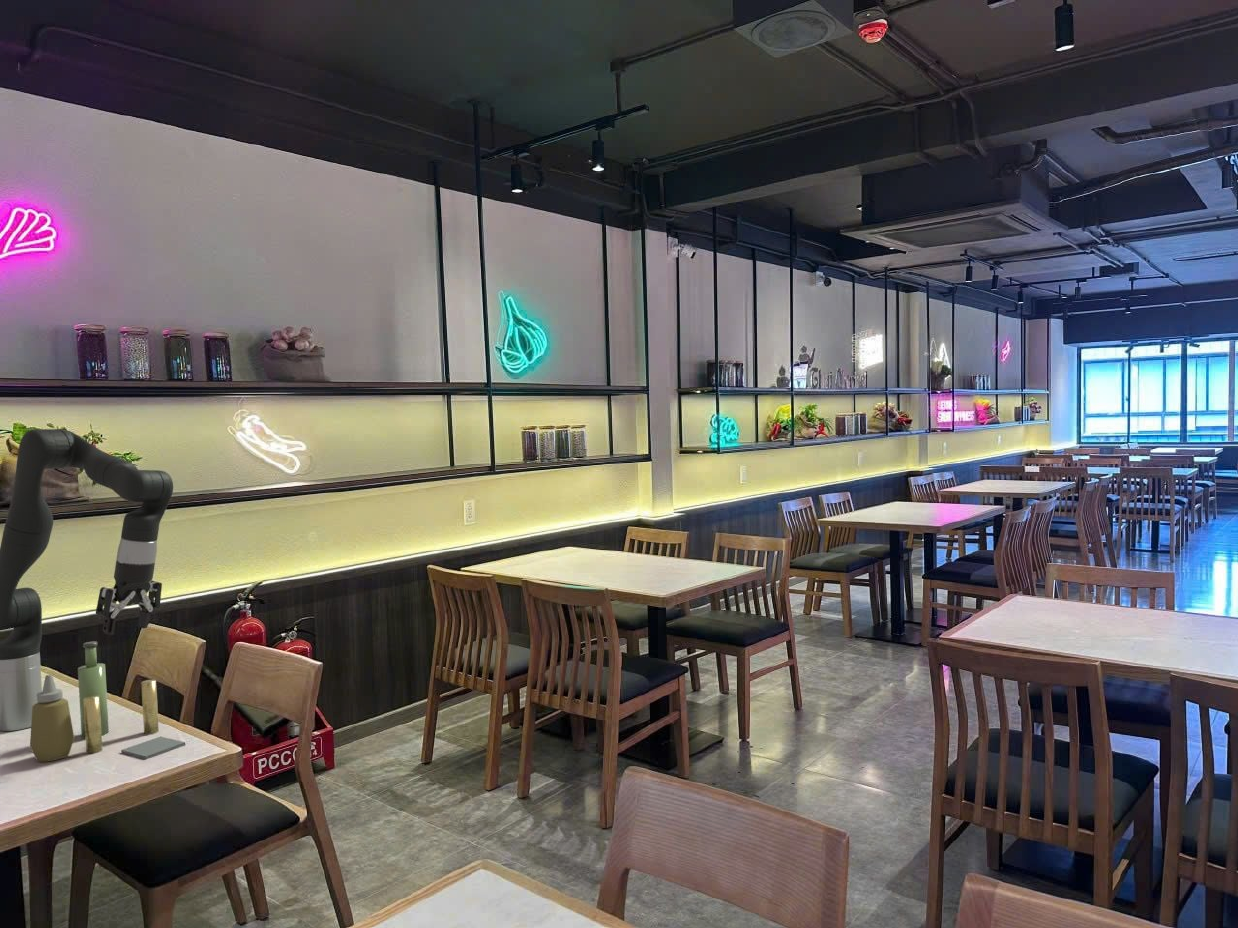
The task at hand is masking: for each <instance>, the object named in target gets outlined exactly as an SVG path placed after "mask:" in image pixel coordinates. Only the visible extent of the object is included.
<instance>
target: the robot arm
mask: <svg viewBox="0 0 1238 928" xmlns="http://www.w3.org/2000/svg"><path fill="white" fill-rule="evenodd" d="M17 450H18V451H17V457H16V458H17V459H16V468H15V474H14V475H15V476H14V485H13V491H12V495H11V499H10V504H9V509H8V512H7V516H6V519H5V524H4V528H3V531H2V537H1V541H0V631H6V630H10V629H13V630H12V632H11V633H10V635H9V636H8V637H6V638H5V639H3V640H2V641H0V731H1V732H12V731H18V730H19V731H20V730H24V729H28V728H31V721H32V707H33V706H34V705H35V704H36V703H38V702H37V694H38V693H39V692H42V691H43V685H42V684H43V683H42V668H41V666H42V665H41V654H40V653H41V652H40V650H41V648H40V646H41V642H42V639H43V638H42V637H43V636H42V635H43V631H42V630H43V629H42V627H43V626H42V625H43V624H42V623H43V620H42V617H43V606H42V602H41V597H40V596H39V593H38V592H37V591H36V590H35V589H34V588H32V587H21V588H17V587H18V586H19V585H18V584H19V582H20V581H21V579H22V578H23V576H24V574H26V573H27V572H28V570H29V569H30V568H32V566H33V565H34V564H35V563H36V562H37V560H39V558H40V557H41V556H42V555H43V554H44V552H45V551H46V549H47V548H48V545H49V542H50V539H51V534H52V530H53V526H54V516H53V514H52V511H51V509H50V507H49V504H48V503H47V502H46V501H47V500H46V499H45V498H44V496H43V492H42V488H41V487H42V479H43V474H44V471H45V469H46V470H49V469H64V468H76V469H81V470H84V473H85V474H86V476H87V477H88V478H89V479H90V480H91V481H93V482H95V484H98V485H100V486H102V487H104V488H108V489H110V490H112V491H113V492H114V493H116V494H117V495H118V496H119V498H121V499H124V500H126V501H128V502H132V503H141V505H140V507H139V508H137V509H136V510H132V511H130V512H128V513H126V514H125V515H124V518H123V522H122V529H121V535H120V540H119V544H118V547H117V553H116V560H115V567H114V573H113V578H114V580H115V584H114V585H113V587H105V586H101V587H100V588H99V595H98V599H97V603H96V609H95V614H96V615H99V616H102V617H103V623H102V625H103V626H102V632H103V633H104V635H108V636H112V635H114V634H115V629H116V622H117V618H116V616H117V615H118V614H119V613H120V612H121V611H122V610H124V609H125V608H126V607H128V606H131V605H138V606H139V608H140V610H139V612H138V619H137V620H138V621H137V627H138V628H139V629H140V628H141V629H147V628H148V626H149V624H150V619H151V614H152V612H153V610H154V609H158V608H160V606H161V600H162V599H161V598H162V590H163V589H162V588H163V584H162V583H163V582H159V581H157V580H156V581H155V580H153V578H154V571H155V567H156V566H155V565H156V558H157V553H158V551H157V550H158V536H159V531H160V529H159V528H160V523H161V520H162V519H163V517H164V515H165V512H166V510H167V508H168V506H169V503H170V501H171V499H172V496H173V492H174V481H173V478H172V477H171V475H170V474H169V473H168V472H166V471H164V470H161V469H160V470H156V469H138V467H137V466H136V465H135V464H134V463H132V462H130V461H128V460H126V459H123V458H120V457H118V456H116V455H112V454H110V453H107V452H105V451H103V450H101V449H99V448H98V447H97V446H94V445H93V444H92V443H90V442H88V441H87V440H86V439H84V438H82V437H81V436H79V435H78V434H76V433H75V432H73V431H70V430H68V429H61V428H57V429H56V428H46V429H45V428H39V429H29V430H28V431H26V432H24V434H23V436H22V437H21V439H20V442H19V446H18V449H17Z"/></svg>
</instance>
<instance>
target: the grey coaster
mask: <svg viewBox="0 0 1238 928" xmlns="http://www.w3.org/2000/svg"><path fill="white" fill-rule="evenodd" d="M183 746H186V742H185V741H181V740H178V739H177V740H176V739H172V738H170V737H169V738H168V737H165V736H157V737H155V738H152V739H149V740H146V741H143V742H141V743H138V744H135V745H131V746H129V747H127V748H123V749H121V750H120V752H121V754H123V755H129V756H133V757H135V758H139V759H140V758H141V759H143V760H148V759H150V758H153V757H156V756H158V755H161V754H164V753H167V752H171V751H172V750H175V749H178V748H180V747H183Z"/></svg>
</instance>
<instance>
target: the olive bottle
mask: <svg viewBox="0 0 1238 928" xmlns="http://www.w3.org/2000/svg"><path fill="white" fill-rule="evenodd" d="M82 646H83V648H84V653H85V655H84V656H85V665H82V666H79V667H78V668H77V677H78V678H77V680H78V694H79V695H78V697H79V698H78V699H79V714H80V716H79V717H80V733H81V738H82V739H86V738H85V719H84V701H83V699H84V698H85V697H88V696H94V695H98V696H99V697H100V716H101V734H102V736H105V734H106V735H107V734H108V733H109V732H110V730H109V729H110V728H109V715H108V714H109V712H108V711H109V710H108V709H109V708H108V695H107V693H108V691H107V676H106V672H107V671H106V664H105V663H99V662H98V660H97V659H98V658H97V657H98V656H97V646H98V641H97V640H96V641H85V642H84V643H83V644H82Z"/></svg>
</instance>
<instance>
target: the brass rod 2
mask: <svg viewBox="0 0 1238 928" xmlns="http://www.w3.org/2000/svg"><path fill="white" fill-rule="evenodd" d="M140 683H141V697H142V719H143V734H144V735H153V734H156V733H158V732H159V731H160V730H159V728H160V727H159V712H158V710H159V709H158V691H157V679H146V680H143V681H141V682H140Z"/></svg>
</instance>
